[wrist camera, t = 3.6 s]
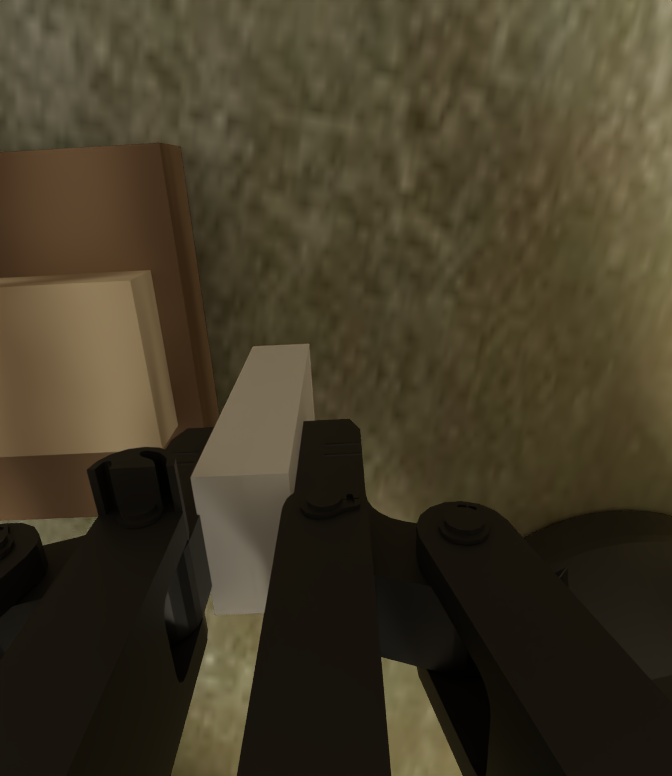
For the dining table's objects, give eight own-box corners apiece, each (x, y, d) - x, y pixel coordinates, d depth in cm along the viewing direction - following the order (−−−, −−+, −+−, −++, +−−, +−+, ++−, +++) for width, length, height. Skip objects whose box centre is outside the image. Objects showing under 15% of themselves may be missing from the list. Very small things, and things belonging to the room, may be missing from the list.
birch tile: (150, 270, 19) (130, 280, 17) (178, 425, 21) (162, 449, 19) (-75, 281, 19) (-120, 293, 17) (-24, 434, 21) (-59, 459, 19)
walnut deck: (180, 146, 20) (159, 142, 17) (228, 479, 25) (217, 511, 23) (-142, 165, 20) (-205, 164, 18) (-29, 491, 25) (-66, 523, 23)
